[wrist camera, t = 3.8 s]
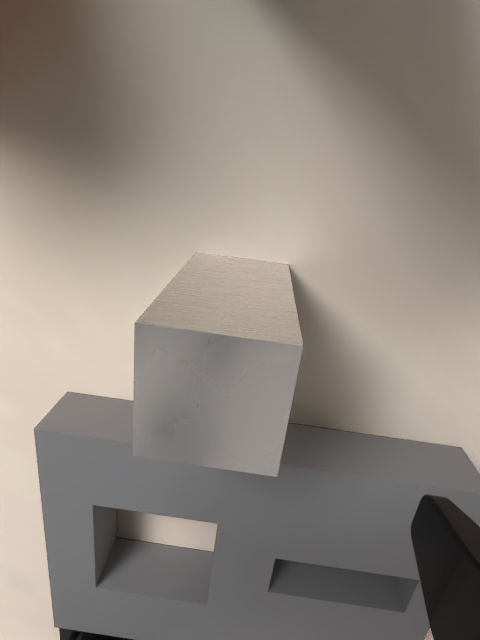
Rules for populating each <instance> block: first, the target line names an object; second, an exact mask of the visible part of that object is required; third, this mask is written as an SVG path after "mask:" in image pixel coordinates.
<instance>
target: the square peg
mask: <svg viewBox="0 0 480 640" xmlns="http://www.w3.org/2000/svg"><path fill="white" fill-rule="evenodd" d="M302 351H303V341H302V336H301V330H300V325H299V319H298V314H297V308H296V303H295V298H294V292H293V287H292V281H291V276H290V270H289V265H288V264H281V263H273V262H266V261H258V260H251V259H243V258H236V257H228V256H221V255H213V254H206V253H198V252H195V253H194V255H193V256H192V257H191V258H190V259H189V260H188V262H187V263H186V264H185V265H184V266H183V267H182V268H181V270H180V271H179V272H178V273H177V274H176V275H175V277H174V278H173V279H172V280H171V281H170V282H169V284H168V285H167V286H166V287H165V288H164V289H163V291H162V292H161V293H160V294H159V295H158V296H157V298H156V299H155V300H154V301H153V302H152V303H151V304H150V306H149V307H148V308H147V309H146V310H145V311H144V313H143V314H142V315H141V316H140V317H139V318H138V320H137V321H136V322H135V341H134V406H133V456H137V457H144V458H151V459H157V460H164V461H171V462H178V463H185V464H191V465H198V466H205V467H212V468H219V469H226V470H232V471H239V472H246V473H253V474H260V475H267V476H273V477H277V475H278V470H279V465H280V460H281V455H282V450H283V445H284V440H285V435H286V430H287V425H288V420H289V415H290V410H291V405H292V400H293V395H294V390H295V385H296V380H297V375H298V370H299V366H300V361H301V356H302Z"/></svg>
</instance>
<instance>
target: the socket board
mask: <svg viewBox="0 0 480 640" xmlns="http://www.w3.org/2000/svg"><path fill="white" fill-rule="evenodd" d="M133 406H134V401H129V400H122V399H115V398H108V397H101V396H94V395H87V394H80V393H73V392H67V393H66V394H65V395H64V396H63V397H62V398H61V399H60V400H59V402H58V403H57V404H56V405H55V406H54V407H53V408H52V409H51V410H50V412H49V413H48V414H47V415H46V416H45V417H44V418H43V419H42V421H41V422H40V423H39V424H38V425H37V426H36V427H35V428H34V435H35V444H36V454H37V463H38V473H39V483H40V492H41V502H42V512H43V521H44V531H45V540H46V550H47V560H48V569H49V579H50V588H51V598H52V608H53V617H54V627H57V628H64V629H70V630H76V631H83V632H89V633H96V634H102V635H108V636H115V637H121V638H128V639H134V640H424V638H425V636H426V634H427V632H428V630H429V627H430V624H429V620H428V615H427V611H426V607H425V602H424V597H423V592H422V587H421V583H420V578H419V573H418V568H417V563H416V558H415V554H414V549H413V544H412V539H411V523H412V520H413V518H414V515H415V513H416V510H417V507H418V505H419V502H420V500H421V498H422V496H424V495H425V494H432V495H439V496H444V497H447V498H448V499H450V500H451V501H452V502H453V503H454V504H455V505H457V506H458V507H459V508H460V509H461V510H462V511H463V512H464V513H466V514H467V515H468V516H469V517H470V518H471V519H472V520H473V521H474V522H476V523H477V524H478V525H479V526H480V474H479V473H478V471H477V470H476V468H475V467H474V465H473V464H472V462H471V461H470V459H469V458H468V456H467V455H466V453H465V452H464V451H463V449H462V448H460V447H453V446H446V445H439V444H431V443H424V442H417V441H410V440H403V439H396V438H389V437H382V436H375V435H368V434H361V433H354V432H347V431H340V430H333V429H326V428H319V427H312V426H305V425H298V424H291V423H288V425H287V430H286V435H285V440H284V445H283V450H282V455H281V460H280V465H279V470H278V475H277V477H273V476H267V475H260V474H253V473H246V472H239V471H232V470H226V469H219V468H212V467H205V466H198V465H191V464H185V463H178V462H171V461H164V460H157V459H151V458H144V457H137V456H133ZM116 508H117V509H123V510H130V511H137V512H144V513H150V514H157V515H164V516H170V517H177V518H184V519H191V520H197V521H204V522H211V523H218V525H217V533H216V540H215V548H214V552H209V551H202V550H196V549H189V548H182V547H176V546H169V545H162V544H156V543H149V542H142V541H136V540H129V539H122V538H116Z"/></svg>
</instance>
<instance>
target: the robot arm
mask: <svg viewBox="0 0 480 640" xmlns="http://www.w3.org/2000/svg"><path fill="white" fill-rule="evenodd" d="M411 539H412V544H413V549H414V554H415V558H416V563H417V568H418V573H419V578H420V583H421V587H422V592H423V597H424V602H425V607H426V611H427V615H428V620H429V624H430V628H431V631H432V635H433V638H434V640H480V526H479V525H478V524H477V523H476V522H474V521H473V520H472V519H471V518H470V517H469V516H468V515H467V514H466V513H464V512H463V511H462V510H461V509H460V508H459V507H458V506H457V505H455V504H454V503H453V502H452V501H451V500H450V499H448V498H447V497H444V496H439V495H432V494H425V495H424V496H422V498H421V500H420V502H419V505H418V507H417V510H416V513H415V515H414V518H413V520H412V523H411ZM59 631H60V640H134V639H128V638H121V637H115V636H108V635H102V634H96V633H89V632H83V631H76V630H70V629H64V628H59Z"/></svg>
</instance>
